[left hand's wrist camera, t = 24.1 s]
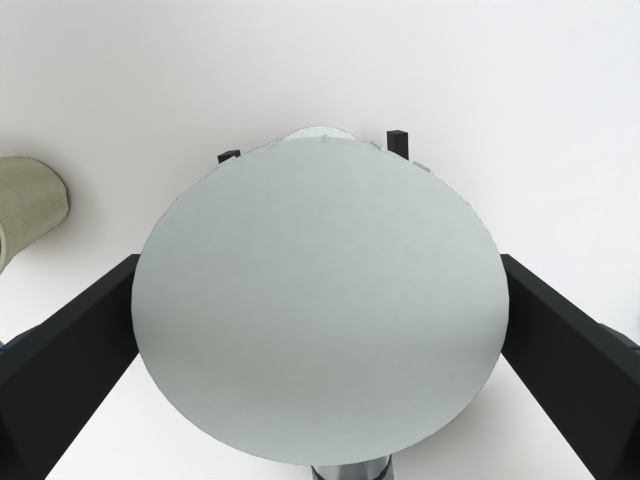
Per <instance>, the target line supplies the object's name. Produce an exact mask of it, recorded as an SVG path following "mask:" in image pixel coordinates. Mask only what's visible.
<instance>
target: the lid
mask: <svg viewBox="0 0 640 480" xmlns="http://www.w3.org/2000/svg"><path fill="white" fill-rule="evenodd" d="M217 168H218V169H216V170H215V171H213V172H212V173H210V174H209V175H207V176H206V177H204V178H203V179H201V180H200V181H198V182H197V183H195V184H194V185H192V186H191V187H190V188H189V189H188V190H187V191H186V192H184V193H182V194H181V195H179V196H178V197H177V198H176V199H177V200H176V201H175V202H174V203H173V204H172V205H171V206H170V207H169V209H168V210H167V211H166V212H165V214H164V215H163V216H162V217H161V219H160V220H159V221H158V222H157V224H156V226H155V227H154V229H153V231H152V233H151V234H150V236H149V238H148V240H147V241H146V243H145V245H144V248H143V250H142V253H141V256H140V258H139V261H138V264H137V267H136V272H135V277H134V282H133V286H132V304H131V312H132V321H133V330H134V334H135V338H136V341H137V345H138V349H139V352H140V354H141V357H142V359H143V361H144V364H145V366H146V368H147V370H148V372H149V374H150V375H151V377H152V379H153V380H154V382H155V384H156V385H157V387H158V388H159V389H160V391H161V392H162V393H163V394H164V396H165V397H166V398H167V399H168V401H169V402H170V403H171V404H172V405H173V406H174V407H175V408H176V409H177V410H178V411H179V412H180V413H181V414H182V415H183V416H184V417H185V418H186V419H188V420H189V421H190V422H192V423H193V424H194V425H195V426H197V427H198V428H199V429H201V430H202V431H204V432H205V433H207V434H209V435H210V436H212V437H213V438H215V439H217V440H218V441H220V442H222V443H225V444H227V445H229V446H231V447H233V448H235V449H237V450H240V451H243V452H245V453H248V454H251V455H254V456H257V457H261V458H264V459H268V460H272V461H277V462H283V463H289V464H295V465H310V466H329V465H343V464H351V463H358V462H363V461H368V460H372V459H377V458H380V457H383V456H386V455H389V454H392V453H396V452H398V451H400V450H403V449H405V448H407V447H410V446H412V445H414V444H416V443H418V442H420V441H421V440H423V439H425V438H427V437H429V436H430V435H432V434H434V433H435V432H436V431H438V430H439V429H441V428H442V427H444V426H445V425H446V424H448V423H449V422H450V421H451V420H453V419H454V418H455V417H456V416H457V415H458V414H459V413H460V412H462V411H463V410H464V409H465V408H466V406H467V405H468V404H469V403H470V402H471V401H472V400H473V399H474V398H475V396H476V395H477V394H478V393H479V391H480V390H481V388H482V387H483V385H484V384H485V382H486V381H487V380H488V378H489V376H490V374H491V372H492V370H493V368H494V366H495V364H496V362H497V360H498V358H499V355H500V352H501V349H502V346H503V343H504V340H505V335H506V330H507V325H508V317H509V294H508V286H507V278H506V273H505V270H504V267H503V263H502V260H501V256H500V253H499V251H498V249H497V247H496V245H495V243H494V241H493V239H492V237H491V235H490V233H489V231H488V230H487V228H486V227H485V225H484V224H483V222H482V221H481V220H480V218H479V217H478V215H477V214H476V212H475V211H474V210H473V209H472V208H471V205H470V204H468V203H467V202H465V201H464V200H463V199H462V198H461V197H460V195H459V194H458V193H456V192H455V191H454V190H452V189H451V188H450V187H449V186H447V185H446V184H445V183H443V182H442V181H441V180H440V179H438V178H437V177H435V176H434V175H433V174H434V172H433V171H432V170H430V169H428V168H426V167H424V166H423V165H421V164H419V163H417V162H415V161H414V163H411V162H410V161H408V160H406V159H404V158H402V157H401V156H399V155H397V154H395V153H393V152H391V151H388V150H386V149H385V148H384V147H382V146H380V145H379V144H377V143H375V142H373V141H372V143H371V144H369V143H365V142H361V141H357V140H353V139H347V138H337V137H328V134H324V136H321V137H300V138H294V139H289V140H283V141H279V139H275V140H274V141H272V142H271V143H269V144H268V145H265V146H262V147H259V148H256V149H254V150H252V151H250V152H248V153H246V154H244V155H242V156H239V157H237V158H236V157H235V156H233V157H231V158H229V159H228V160H226V161H224V162H222V163H220V164H218V165H217Z"/></svg>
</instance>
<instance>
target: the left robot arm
mask: <svg viewBox="0 0 640 480" xmlns="http://www.w3.org/2000/svg"><path fill="white" fill-rule="evenodd" d="M140 256H141V254H131V255H130V256H129V257H127V258H126V259H125V260H124V261H122V262H121V263H120V264H118V265H117V266H116V267H114V268H113V269H112V270H111V271H109V272H108V273H107V274H105V275H104V276H103V277H101V278H100V279H99V280H97V281H96V282H95V283H94V284H92V285H91V286H90V287H88V288H87V289H86V290H84V291H83V292H82V293H81V294H79V295H78V296H77V297H75V298H74V299H73V300H71V301H70V302H69V303H68V304H66V305H65V306H64V307H62V308H61V309H60V310H58V311H57V312H56V313H55V314H53V315H52V316H51V317H49V318H48V319H47V320H45V321H44V322H43V323H42V324H40V325H37V326H35V327H33V328H31V329H29V330H28V331H26V332H24V333H22V334H20V335H18V336H16V337H15V338H13V339H12V340H11V341H9V342H8V343H7V344H5V345H4V346H3V347H1V348H0V480H44V479H45V478H46V477H47V475H48V474H49V473H50V471H51V470H52V469H53V467H54V466H55V465H56V463H57V462H58V461H59V459H60V458H61V457H62V455H63V454H64V453H65V451H66V450H67V449H68V447H69V446H70V445H71V443H72V442H73V441H74V439H75V438H76V436H77V435H78V434H79V432H80V431H81V430H82V428H83V427H84V426H85V424H86V423H87V422H88V420H89V419H90V418H91V416H92V415H93V414H94V412H95V411H96V410H97V408H98V407H99V406H100V404H101V403H102V402H103V400H104V399H105V398H106V396H107V395H108V394H109V392H110V391H111V390H112V388H113V387H114V385H115V384H116V383H117V381H118V380H119V379H120V377H121V376H122V375H123V373H124V372H125V371H126V369H127V368H128V367H129V365H130V364H131V363H132V361H133V360H134V359H135V357H136V356H137V355H138V353H139V349H138V345H137V341H136V338H135V334H134V330H133V321H132V312H131V304H132V286H133V282H134V277H135V272H136V267H137V264H138V261H139V258H140ZM500 256H501V260H502V263H503V267H504V270H505V273H506V278H507V286H508V294H509V317H508V325H507V330H506V335H505V340H504V343H503V346H502V349H501V353H502V355H503V356H504V357H505V359H506V360H507V361H508V363H509V364H510V365H511V367H512V368H513V369H514V371H515V372H516V373H517V375H518V376H519V377H520V379H521V380H522V381H523V383H524V384H525V385H526V387H527V388H528V390H529V391H530V392H531V394H532V395H533V396H534V398H535V399H536V400H537V402H538V403H539V404H540V406H541V407H542V408H543V410H544V411H545V412H546V414H547V415H548V416H549V418H550V419H551V420H552V422H553V423H554V424H555V426H556V427H557V428H558V430H559V431H560V432H561V434H562V435H563V436H564V438H565V439H566V441H567V442H568V443H569V445H570V446H571V447H572V449H573V450H574V451H575V453H576V454H577V455H578V457H579V458H580V459H581V461H582V462H583V463H584V465H585V466H586V467H587V469H588V470H589V471H590V473H591V474H592V475H593V477H594V478H595V479H596V480H640V346H638V345H637V344H636V343H634V342H633V341H632V340H630V339H629V338H628V337H626V336H625V335H623V334H621V333H619V332H617V331H615V330H613V329H611V328H609V327H607V326H605V325H603V324H601V323H597V322H596V321H595V320H593V319H592V318H591V317H589V316H588V315H587V314H585V313H584V312H583V311H582V310H580V309H579V308H578V307H576V306H575V305H574V304H572V303H571V302H570V301H569V300H567V299H566V298H565V297H563V296H562V295H561V294H559V293H558V292H557V291H556V290H554V289H553V288H552V287H550V286H549V285H548V284H546V283H545V282H544V281H543V280H541V279H540V278H539V277H537V276H536V275H535V274H533V273H532V272H531V271H529V270H528V269H527V268H526V267H524V266H523V265H522V264H520V263H519V262H518V261H516V260H515V259H514V258H513V257H511V256H510V255H509V254H500Z"/></svg>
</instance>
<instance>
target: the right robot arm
mask: <svg viewBox="0 0 640 480" xmlns="http://www.w3.org/2000/svg"><path fill="white" fill-rule="evenodd" d="M387 146H388V151H391V152H393V153H395V154H397V155H399V156H401V157H402V158H404V159H406V160H408V161H409V158H408V133H407V132H403V131H400V130H395V131H387ZM233 156H235V157H236V158H237V157H239V156H241V155H240V150H234V151H228V152H226V153H223V154H221V155H219V156H218V161H219V164H220V163H222V162H224V161H226V160H228V159H229V158H231V157H233ZM311 467H312V474H313V480H394V478H393V468H392V458H391V454H389V455H386V456H383V457H380V458H377V459H372V460H368V461H363V462H358V463H351V464H343V465H329V466H311Z"/></svg>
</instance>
